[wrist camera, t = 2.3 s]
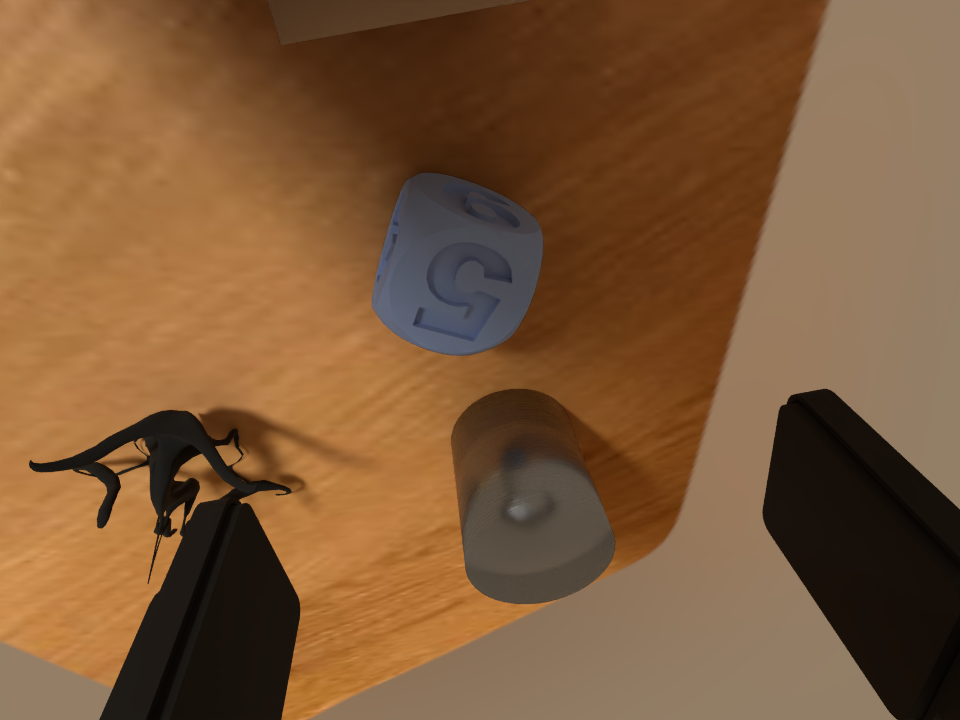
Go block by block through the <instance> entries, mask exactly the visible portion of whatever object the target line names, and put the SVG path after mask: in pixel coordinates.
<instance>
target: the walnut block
mask: <svg viewBox="0 0 960 720" xmlns="http://www.w3.org/2000/svg"><path fill="white" fill-rule="evenodd" d="M524 1H530V0H268V4H269V7H270V10H271V14H272V17H273V20H274V24H275V27H276V30H277V33H278V37H279V40H280V43H281V45H286V44H291V43H297V42H302V41H308V40H313V39H319V38H325V37H330V36H336V35H341V34H347V33H352V32H358V31H363V30H369V29H374V28H380V27H386V26H391V25H397V24H402V23H408V22H413V21H419V20H424V19H430V18H435V17H441V16H446V15H452V14H458V13H463V12H469V11H474V10H480V9H485V8H491V7H496V6H502V5H507V4H513V3H518V2H524Z"/></svg>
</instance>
